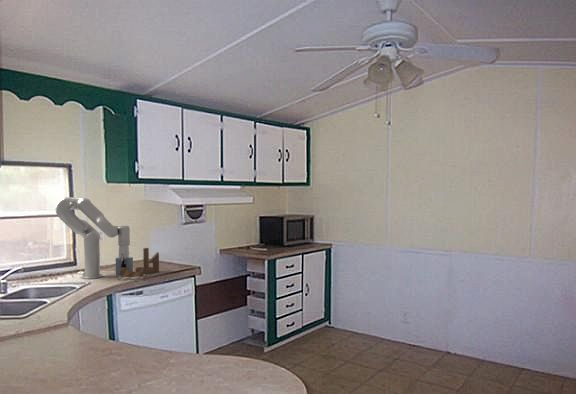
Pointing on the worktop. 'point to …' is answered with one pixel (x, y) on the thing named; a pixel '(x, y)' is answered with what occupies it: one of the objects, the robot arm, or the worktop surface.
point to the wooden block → (153, 260)
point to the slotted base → (131, 273)
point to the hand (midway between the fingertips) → (124, 268)
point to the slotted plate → (128, 264)
